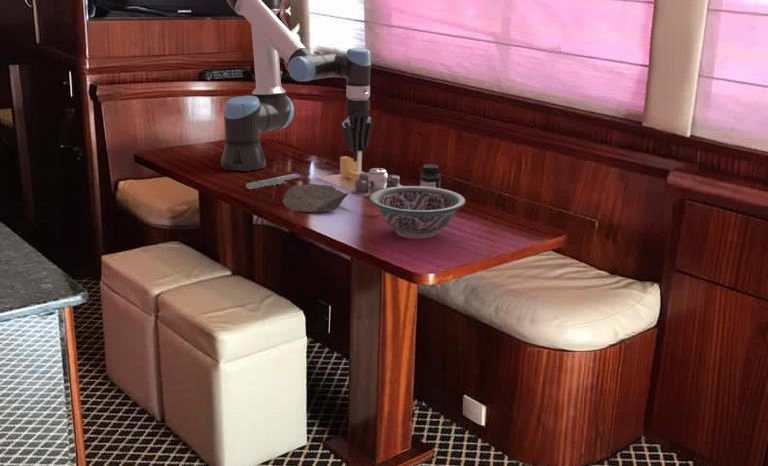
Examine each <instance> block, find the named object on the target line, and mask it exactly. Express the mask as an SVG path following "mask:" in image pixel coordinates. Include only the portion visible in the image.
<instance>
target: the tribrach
mask: <svg viewBox="0 0 768 466" xmlns="http://www.w3.org/2000/svg"><path fill="white" fill-rule="evenodd" d="M357 172H359V173H366V172H364V171H362V170H361V171H357ZM367 173H368V181H367V180H355V179H352V178H350V177H348V178H347V177H344V176H341V175H340V173H339V174H332V175H326V176H320V177H317V178H318V179H320V180H322V181H326V182H328V183H330V184H333V185H335V186H338V187H341V188H343V189H346V190H349V191H350V192H354V193H355V194H358V195H361V196H363V197H367V196H370V195H371V194H372V193H374V192H376V191H378V190H381V189H385V188H391V187H399V186H403V185H402V184H400V179H401V178H400V175H398V174H397V175H396V174H388V171H387V169H385V168H382V167H381V168H380V167H374V168H370V169H369V171H367Z"/></svg>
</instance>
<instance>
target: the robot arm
mask: <svg viewBox="0 0 768 466" xmlns="http://www.w3.org/2000/svg"><path fill="white" fill-rule="evenodd" d="M226 1H227V3H228V5H229V6H230V8H232V10H233V11H234V12H235V13H236V14H237V15H239V16H243V17H244V18H245V19H246V20H247V22H249V23H250V24H251V36H252V51H253V63H254V64H253V65H254V77H255V88H254V90H253V91H252V92H251V95H242V96H241V95H240V96H239V95H238V96H233V97H231V98H229V99H227V100H226V101H225V103H224V105H223V106H224V110H223V118H224V136H225V137H224V139H225V142H224V143H225V146H224V149H223V152H222V156H221V158H220V167H221V166H222V167H223V168H226V169H230V170H240V171H247V172H252V171H251V170H256V171H258V170H257V169H261V168H263V169H265V168H266V167H267V162H266V157H265V154H264V151H263V149H262V146H261V134H264V133H267V132H272V131H273V132H274V131H280V130H281V129H284V128H287V127H288V126H289V125H290V123H292V120H293V119H294V113H295V108H294V104H293V102H292V101H291V98H290V97H288V96H287V91H286V90H285V88H283V86H282V81H281V80H282V79H281V68H280V67H281V66H280V64H281V63H280V57H281V58H282V59H283V60H284V61H285V62H286V63H287V64H288V65H287V68H288V70H287V71H288V72H289V76H290V78H291V79H293V80H294V81H296V82H311V81H314V80H320V79H326V78H341V79H342V78H343V79H346V90H345V91H346V100H345V109H346V111H347V115H346V119H345V120H344V121H342V120H341V122H340V125H341V127H342V130H343V131H342V132H343V135H344V137H343V138H344V142H345V148H346V150H348V151H351V155H350V158H353V171H356V172H358V171H362V164H363V163H362V161H363V159H364V152H365V151H366V149H368V147H369V144H370V139H371V135H372V127H373V124H374V122H375V118H374V117H373V118H372V117H371V116H370V113H369V112H370V109H371V100H370V96H371V83H370V82H371V68H372V67H371V66H372V62H371V51H370V50H369V49H367V48H357V47H356V48H355V47H353V48H348V49H347V50H346V53H337V52H332V51H321V52H319V53H318V54H312V53H311V52H310V51H309V49H308V48H306V47H305V45H304V44H303V43H302V42H301V41H300V40H299V39H298V37H296V36H295V35H294V34H293V32H292V31H290V29H288V27H287V26H286V25H285V24H284V23H283V22H282V21H281V19H279V18H278V16H277V15H278V13H280V11H281V3H282V2H284V0H226ZM265 166H266V167H265ZM264 167H265V168H264ZM261 170H262V169H261Z"/></svg>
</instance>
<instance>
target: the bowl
mask: <svg viewBox="0 0 768 466" xmlns="http://www.w3.org/2000/svg"><path fill="white" fill-rule="evenodd" d="M369 202H370V203H371V204H372V205H373V206H375V207H377V208H378V211H379V213H380V215H381V216H382V218H383V220H384V223H386V224H387V225H388V226H389V227H390V228H391V229H393V230H395V233H396V234H397V235H398V236H399V237H403V238H406V239H414V240H424V239H429V238H433V237H434V236H436V235H437V232H438V231H440V230H442V229H444V228H445V227H446V226H447V225H448V224H449V222H450V221H451V220H452V218H453V216H454V214H455V212H456V211H457V210H459V209H461V208H462V207H464V206H465V204H466V198H465V197H464V196H463V195H461V194H460V193H457V192H455V191H452V190H449V189H446V188H441V187H440V188H434V187H425V186H420V185H402V186H399V187H391V188H385V189H381V190H378V191H376V192H374V193H372V194H371V195H369Z"/></svg>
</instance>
